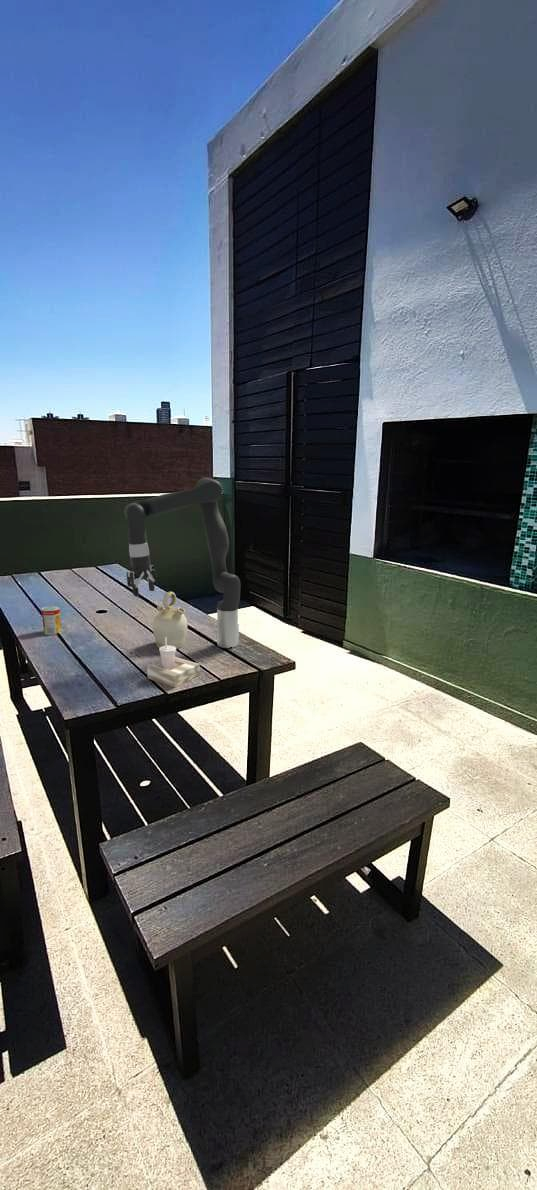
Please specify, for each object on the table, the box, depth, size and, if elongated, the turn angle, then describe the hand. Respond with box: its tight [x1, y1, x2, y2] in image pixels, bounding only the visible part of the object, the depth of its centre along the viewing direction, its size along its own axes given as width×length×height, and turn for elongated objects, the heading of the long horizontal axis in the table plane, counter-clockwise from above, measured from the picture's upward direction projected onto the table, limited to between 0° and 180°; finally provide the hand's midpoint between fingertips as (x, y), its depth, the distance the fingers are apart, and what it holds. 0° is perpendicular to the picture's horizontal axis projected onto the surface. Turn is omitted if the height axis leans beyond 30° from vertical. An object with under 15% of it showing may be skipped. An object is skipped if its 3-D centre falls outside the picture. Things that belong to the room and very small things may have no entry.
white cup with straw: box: [158, 637, 177, 670], centre depth 187 cm, size 6×6×14 cm
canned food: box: [41, 605, 63, 636], centre depth 232 cm, size 8×8×12 cm
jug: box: [151, 591, 188, 650], centre depth 218 cm, size 15×16×25 cm
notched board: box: [146, 656, 201, 688], centre depth 187 cm, size 14×14×4 cm
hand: (144, 593), depth 198 cm, fingers open, 8 cm apart
